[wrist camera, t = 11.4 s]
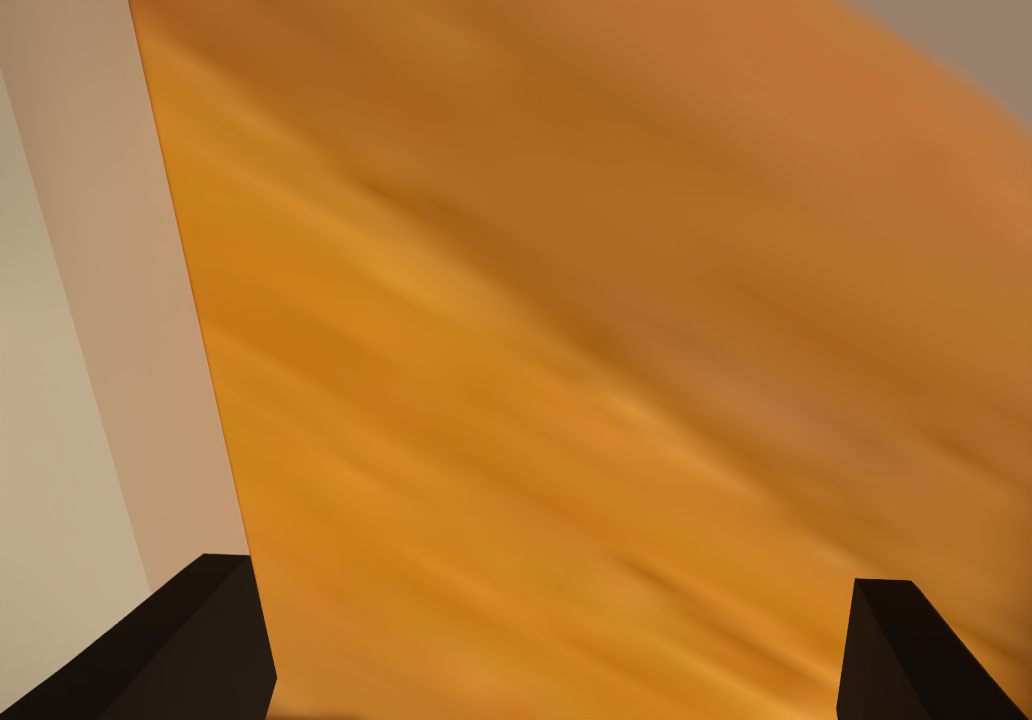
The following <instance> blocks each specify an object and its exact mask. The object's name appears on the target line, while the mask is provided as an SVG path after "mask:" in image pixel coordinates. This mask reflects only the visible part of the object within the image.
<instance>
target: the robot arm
mask: <svg viewBox="0 0 1032 720" xmlns="http://www.w3.org/2000/svg"><path fill="white" fill-rule="evenodd" d="M276 680H277V675H276V670H275V666H274V661H273V657H272V652H271V648H270V643H269V639H268V634H267V629H266V625H265V620H264V616H263V611H262V607H261V602H260V598H259V593H258V588H257V584H256V579H255V575H254V570H253V566H252V561H251V557H250V555H234V554H208V553H203V554H202V555H201V556H199V557H198V558H197V559H195V560H194V561H193V562H191V563H190V564H189V565H188V566H186V567H185V568H184V569H182V570H181V571H180V572H179V573H177V574H176V575H175V576H174V577H173V578H171V579H170V580H169V581H168V582H166V583H165V584H164V585H163V586H162V587H160V588H159V589H158V590H157V591H155V592H154V593H153V594H152V595H151V596H149V597H148V598H147V599H146V600H145V601H143V602H142V603H141V604H140V605H139V606H137V607H136V608H135V609H134V610H132V611H131V612H130V613H129V614H128V615H126V616H125V617H124V618H123V619H122V620H120V621H119V622H118V623H117V624H115V625H114V626H113V627H112V628H110V629H109V630H108V631H107V632H105V633H104V634H103V635H102V636H100V637H99V638H98V639H97V640H96V641H94V642H93V643H92V644H91V645H89V646H88V647H87V648H86V649H84V650H83V651H82V652H81V653H79V654H78V655H77V656H76V657H74V658H73V659H72V660H71V661H69V662H68V663H67V664H66V665H64V666H63V667H62V668H61V669H59V670H58V671H57V672H55V673H54V674H52V675H51V676H50V677H48V678H47V679H46V680H44V681H43V682H42V683H40V684H39V685H38V686H36V687H35V688H34V689H32V690H31V691H30V692H28V693H27V694H26V695H24V696H23V697H22V698H20V699H19V700H18V701H16V702H15V703H14V704H12V705H11V706H10V707H8V708H7V709H6V710H4V711H3V712H1V713H0V720H265V718H266V714H267V711H268V708H269V704H270V701H271V697H272V694H273V690H274V687H275V684H276ZM836 710H837V717H838V720H1029V719H1028V718H1027V717H1026V716H1025V715H1024V714H1023V712H1022V711H1021V710H1020V709H1019V708H1018V707H1017V706H1016V705H1015V704H1014V702H1013V701H1012V700H1011V699H1010V698H1009V697H1008V696H1007V695H1006V694H1005V692H1004V691H1003V690H1002V689H1001V688H1000V687H999V685H998V684H997V683H996V682H995V681H994V680H993V678H992V677H991V676H990V675H989V674H988V673H987V671H986V670H985V669H984V668H983V667H982V665H981V664H980V663H979V662H978V661H977V659H976V658H975V657H974V656H973V655H972V653H971V652H970V651H969V650H968V649H967V647H966V646H965V645H964V644H963V643H962V641H961V640H960V639H959V638H958V637H957V635H956V634H955V633H954V632H953V630H952V629H951V628H950V627H949V625H948V624H947V623H946V622H945V620H944V619H943V618H942V617H941V616H940V614H939V613H938V612H937V611H936V609H935V608H934V607H933V606H932V604H931V603H930V602H929V601H928V599H927V598H926V597H925V596H924V594H923V593H922V592H921V591H920V589H919V588H918V587H917V586H916V585H915V584H914V583H913V582H912V581H909V580H883V579H857V578H855V582H854V589H853V596H852V603H851V610H850V617H849V624H848V631H847V638H846V645H845V651H844V658H843V665H842V672H841V679H840V686H839V693H838V700H837V707H836Z"/></svg>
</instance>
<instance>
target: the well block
mask: <svg viewBox="0 0 1032 720" xmlns="http://www.w3.org/2000/svg"><path fill="white" fill-rule="evenodd" d="M203 553H208V554H234V555H250V554H249V549H248V545H247V540H246V535H245V531H244V526H243V522H242V517H241V513H240V508H239V504H238V499H237V495H236V490H235V485H234V481H233V476H232V472H231V467H230V463H229V458H228V454H227V449H226V445H225V440H224V435H223V431H222V426H221V422H220V417H219V413H218V408H217V404H216V399H215V395H214V390H213V385H212V381H211V376H210V372H209V367H208V363H207V358H206V354H205V349H204V345H203V340H202V335H201V331H200V326H199V322H198V317H197V313H196V308H195V304H194V299H193V295H192V290H191V285H190V281H189V276H188V272H187V267H186V263H185V258H184V254H183V249H182V244H181V240H180V235H179V231H178V226H177V222H176V217H175V213H174V208H173V204H172V199H171V194H170V190H169V185H168V181H167V176H166V172H165V167H164V163H163V158H162V154H161V149H160V144H159V140H158V135H157V131H156V126H155V122H154V117H153V113H152V108H151V104H150V99H149V94H148V90H147V85H146V81H145V76H144V72H143V67H142V63H141V58H140V54H139V49H138V44H137V40H136V35H135V31H134V26H133V22H132V17H131V13H130V8H129V4H128V0H0V713H1V712H3V711H4V710H6V709H7V708H8V707H10V706H11V705H12V704H14V703H15V702H16V701H18V700H19V699H20V698H22V697H23V696H24V695H26V694H27V693H28V692H30V691H31V690H32V689H34V688H35V687H36V686H38V685H39V684H40V683H42V682H43V681H44V680H46V679H47V678H48V677H50V676H51V675H52V674H54V673H55V672H57V671H58V670H59V669H61V668H62V667H63V666H64V665H66V664H67V663H68V662H69V661H71V660H72V659H73V658H74V657H76V656H77V655H78V654H79V653H81V652H82V651H83V650H84V649H86V648H87V647H88V646H89V645H91V644H92V643H93V642H94V641H96V640H97V639H98V638H99V637H100V636H102V635H103V634H104V633H105V632H107V631H108V630H109V629H110V628H112V627H113V626H114V625H115V624H117V623H118V622H119V621H120V620H122V619H123V618H124V617H125V616H126V615H128V614H129V613H130V612H131V611H132V610H134V609H135V608H136V607H137V606H139V605H140V604H141V603H142V602H143V601H145V600H146V599H147V598H148V597H149V596H151V595H152V594H153V593H154V592H155V591H157V590H158V589H159V588H160V587H162V586H163V585H164V584H165V583H166V582H168V581H169V580H170V579H171V578H173V577H174V576H175V575H176V574H177V573H179V572H180V571H181V570H182V569H184V568H185V567H186V566H188V565H189V564H190V563H191V562H193V561H194V560H195V559H197V558H198V557H199V556H201V555H202V554H203Z"/></svg>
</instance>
